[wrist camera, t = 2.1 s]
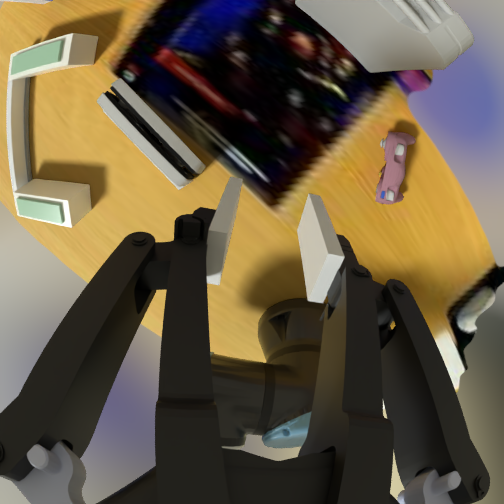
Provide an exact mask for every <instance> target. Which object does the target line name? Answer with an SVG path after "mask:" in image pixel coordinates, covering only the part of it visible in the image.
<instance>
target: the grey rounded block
mask: <svg viewBox="0 0 504 504" xmlns="http://www.w3.org/2000/svg"><path fill="white" fill-rule="evenodd" d="M110 89H111V90H112V91H113V92H114V93H115V94H116V96H115V95H114V94H112V93H110V92H108V91H107V92H106V93H102V94H101V96H100V97H99V98H98V100H97V103H98V104H99V105H100V106H101V107H102V109H103V112H104V113H105V114H106V115H107V116H108V117H109V118H110V119H111V120H112V121H113V122H114V123H115V124H116V125H117V126H118V127H119V128H120V129H121V130H122V131H123V133H124V134H125V135H126V136H127V137H128V138H129V139H130V140H131V141H132V142H133V143H134V144H135V145H136V146H137V147H138V148H139V149H140V150H141V151H142V152H143V153H144V154H145V155H146V157H147V158H148V159H149V160H150V161H151V162H152V163H153V164H154V165H155V166H156V167H157V168H158V169H159V170H160V171H161V172H162V173H163V174H164V175H165V176H166V177H167V178H168V179H169V180H170V181H171V182H172V183H173V184H174V185H175V186H176V188H177V189H178V190H180V189H181V188H183V187H184V186H186V185H187V184H189V183H191V182H192V181H193V180H192V179H193V178H194V176H193V175H192V174H198V173H200V174H201V173H202V171H203V170H204V169H205V167H206V166H205V165H204V164H203V163H202V162H201V161H200V160H199V159H198V157H197V156H196V155H195V154H194V153H193V152H192V151H191V150H190V149H189V148H188V147H187V146H186V145H185V144H184V143H183V142H182V141H181V139H180V138H179V137H178V136H177V135H176V134H175V133H174V132H173V131H172V130H171V129H170V128H169V127H168V126H167V125H166V124H165V123H164V122H163V121H162V120H161V119H160V118H159V117H158V116H157V114H156V113H155V112H154V111H153V110H152V109H151V108H150V107H149V106H148V105H147V104H146V103H145V102H144V101H143V100H142V99H141V98H140V97H139V96H138V95H137V94H136V93H135V92H134V91H133V90H132V89H131V88H130V87H129V86H128V85H127V84H126V83H125V82H124V81H123V80H122V79H121V78H120V79H118V80H116V81H115V82H113V83H112V87H111V88H110ZM144 125H145V126H146V127H147V128H148V129H149V130H150V131H151V132H152V133H153V134H154V135H155V136H156V137H157V138H158V140H159V141H160V142H161V143H162V144H163V145H161V146H160V145H158V144H157V143H156V142H155V140H154V139H153V138H152V137H151V136H150V135H149V134H148V133H147V132H146V131H145V130H144V128H143V127H144ZM184 166H185V167H186V168H187V169H188V170H189V171H190V172H191V173H192V174H191V173H190V172H189V171H188V170H187V169H186V168H182V167H184Z"/></svg>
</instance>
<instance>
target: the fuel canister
mask: <svg viewBox="0 0 504 504" xmlns="http://www.w3.org/2000/svg"><path fill="white" fill-rule="evenodd" d="M434 1H435V2H434ZM434 1H431V0H296V1H295V4H296V5H297V6H298V7H299V8H301V9H302V10H303V11H304V12H306V13H307V14H308V15H309V16H311V17H312V18H313V19H314V20H316V21H317V22H318V23H319V24H320V25H321V26H323V27H324V28H325V29H326V30H327V31H328V32H329V33H331V34H332V35H333V36H334V37H335V38H336V39H337V40H338V41H339V42H340V43H341V44H342V45H343V46H344V47H345V48H346V49H347V50H348V51H349V52H350V53H351V54H352V55H353V56H354V57H355V58H356V59H357V60H358V61H359V62H360V63H361V64H362V65H363V66H364V67H365V68H366V69H367V70H368V71H369V72H371V73H373V72H384V71H397V70H425V69H437V70H438V69H441V70H444V69H445V68H446V67H447V66H448V65H450V64H451V63H452V62H453V61H454V60H455V59H457V57H458V55H461V54H462V53H464V52H465V51H466V50H467V49H468V48H469V47H471V46H472V45H473V42H474V38H473V35H472V33H471V31H470V30H469V28H468V27H467V25H466V24H465V23H464V21H463V20H462V18H461V17H460V16H459V14H458V13H457V12H455V11H453V10H451V8H450V7H449V6H448V4H447V3H446V2H445V1H444V0H434Z"/></svg>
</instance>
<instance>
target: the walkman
mask: <svg viewBox="0 0 504 504" xmlns="http://www.w3.org/2000/svg"><path fill="white" fill-rule="evenodd" d="M0 1H13V2H26V3H37V4H45V3H48V2H50V1H53V0H0Z"/></svg>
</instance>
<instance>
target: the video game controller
mask: <svg viewBox="0 0 504 504" xmlns="http://www.w3.org/2000/svg"><path fill="white" fill-rule="evenodd" d="M415 141H416V140H415V138H414V137H413V136H411V135H409V134H407V133H403V132H394V133H393V132H388V136H387V138H386V139H385V140H384V141H383V139H382V140H381V143H380V145H381V148H382V146H383V147H384V150H385V161H387V162H386V167H383V169H382V172H379V177H380V181H379V183H378V185H377V189H376V200H375V201H376V202H379V203H382V204H393V203H396V202H400V201H402V200H403V198H404V196H403V194H402V193H401V192H399V187H400V184H401V183H402V181H403V179H404V177H405V159H406V152H407V145H411V144H414V143H415Z"/></svg>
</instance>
